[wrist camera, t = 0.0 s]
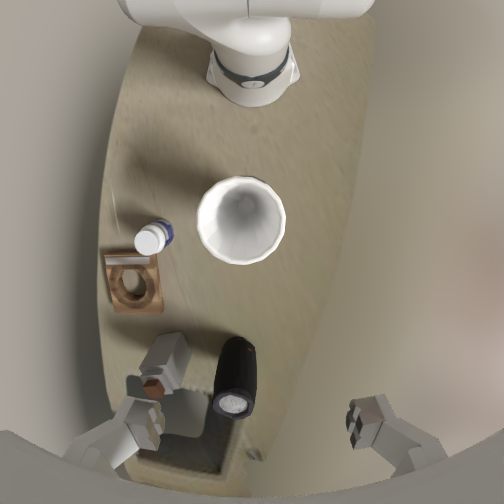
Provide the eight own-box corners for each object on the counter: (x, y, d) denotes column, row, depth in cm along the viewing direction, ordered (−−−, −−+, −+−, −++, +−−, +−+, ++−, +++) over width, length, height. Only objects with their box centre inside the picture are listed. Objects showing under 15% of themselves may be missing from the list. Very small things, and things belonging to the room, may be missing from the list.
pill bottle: (157, 249, 58) (140, 263, 49) (146, 225, 57) (126, 235, 47) (179, 238, 58) (165, 251, 48) (168, 214, 56) (151, 222, 47)
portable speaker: (245, 328, 63) (241, 385, 44) (263, 357, 65) (265, 415, 46) (213, 341, 64) (200, 398, 45) (233, 368, 66) (226, 426, 47)
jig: (109, 251, 59) (102, 255, 55) (156, 250, 58) (150, 254, 55) (120, 306, 62) (114, 313, 59) (164, 308, 62) (159, 315, 59)
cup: (251, 243, 58) (248, 283, 37) (206, 209, 56) (177, 230, 35) (287, 199, 55) (305, 214, 34) (241, 164, 53) (231, 156, 33)
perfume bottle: (181, 331, 64) (159, 378, 46) (191, 353, 65) (174, 403, 48) (157, 335, 64) (131, 381, 47) (168, 356, 66) (146, 404, 49)
